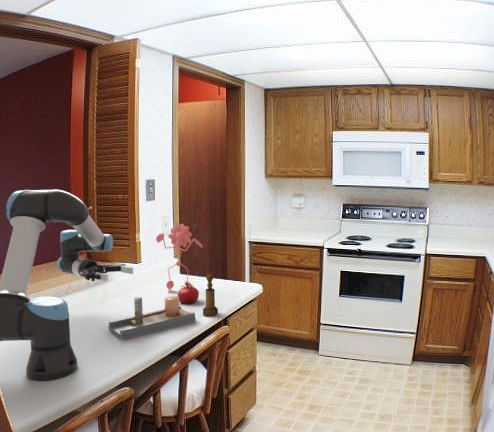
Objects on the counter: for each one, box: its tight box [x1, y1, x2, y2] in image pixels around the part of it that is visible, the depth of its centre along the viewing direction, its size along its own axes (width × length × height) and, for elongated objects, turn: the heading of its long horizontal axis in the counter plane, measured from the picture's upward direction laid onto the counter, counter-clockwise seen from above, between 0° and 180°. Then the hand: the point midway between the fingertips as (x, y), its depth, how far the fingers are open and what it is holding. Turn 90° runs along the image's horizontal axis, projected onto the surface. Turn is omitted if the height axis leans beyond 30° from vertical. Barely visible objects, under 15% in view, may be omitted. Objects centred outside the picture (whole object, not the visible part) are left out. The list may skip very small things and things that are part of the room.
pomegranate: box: [177, 283, 200, 304], centre depth 222 cm, size 10×10×9 cm
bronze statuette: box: [202, 273, 219, 318], centre depth 203 cm, size 7×6×18 cm
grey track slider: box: [130, 296, 191, 326], centre depth 192 cm, size 24×9×11 cm, turn 128°
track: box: [107, 305, 196, 341], centre depth 190 cm, size 32×14×4 cm, turn 128°
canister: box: [164, 296, 180, 317], centre depth 195 cm, size 6×6×7 cm
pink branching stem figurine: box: [155, 223, 204, 294], centre depth 241 cm, size 15×26×35 cm, turn 76°
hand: (120, 274), depth 190 cm, fingers open, 13 cm apart
